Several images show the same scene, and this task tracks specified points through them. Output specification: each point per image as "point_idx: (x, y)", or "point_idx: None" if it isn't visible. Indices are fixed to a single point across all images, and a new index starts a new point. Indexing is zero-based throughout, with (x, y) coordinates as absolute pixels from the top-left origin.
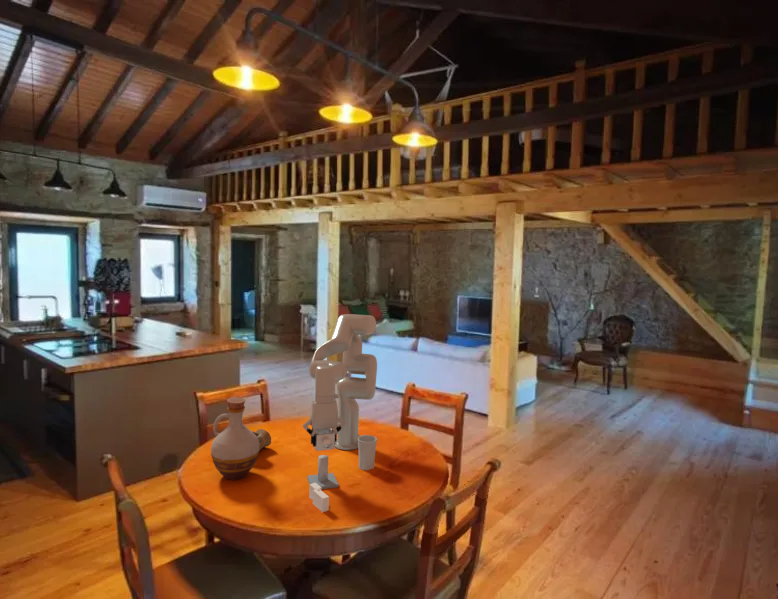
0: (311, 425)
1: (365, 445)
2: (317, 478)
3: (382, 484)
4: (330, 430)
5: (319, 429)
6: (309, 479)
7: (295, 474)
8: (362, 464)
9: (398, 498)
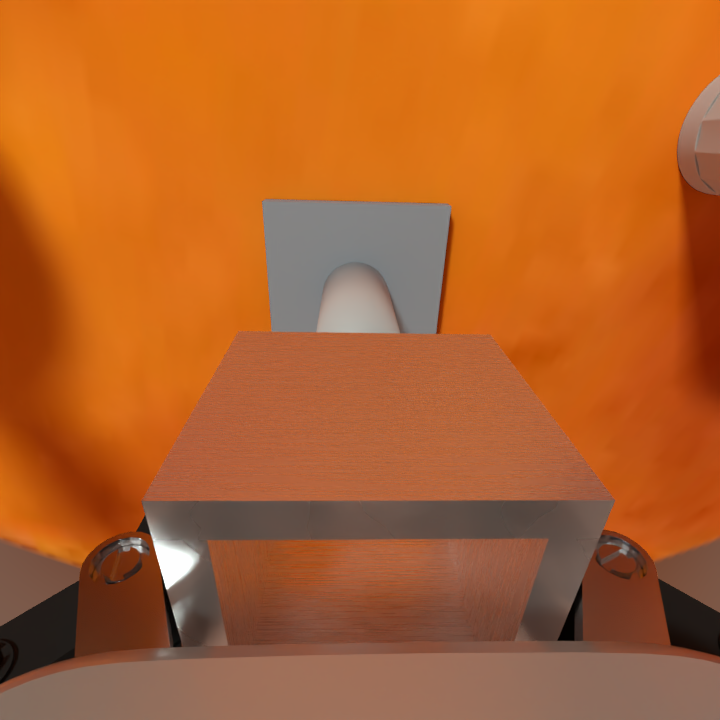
0: (10, 692)
1: None
2: (326, 265)
3: (660, 393)
4: (517, 610)
5: (301, 528)
6: (271, 264)
7: (179, 104)
8: (712, 175)
9: (637, 512)
